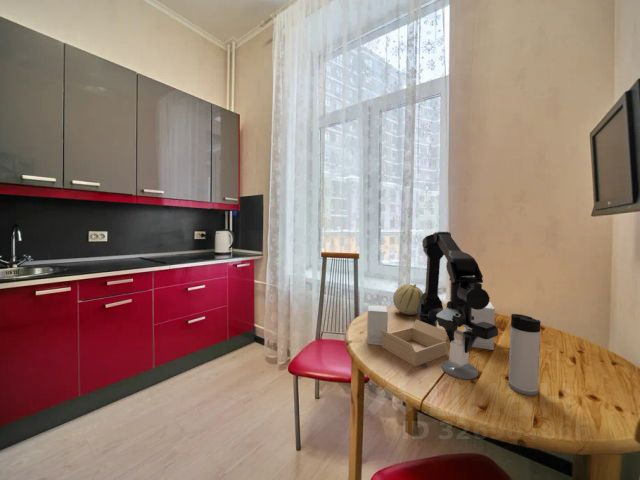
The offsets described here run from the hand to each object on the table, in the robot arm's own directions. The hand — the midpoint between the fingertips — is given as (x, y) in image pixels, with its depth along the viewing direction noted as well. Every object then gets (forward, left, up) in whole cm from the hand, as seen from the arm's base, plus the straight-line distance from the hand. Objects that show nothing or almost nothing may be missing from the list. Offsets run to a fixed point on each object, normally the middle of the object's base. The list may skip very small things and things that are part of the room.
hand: (459, 349), depth 81 cm
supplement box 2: (-23, -8, -7) cm, 25 cm away
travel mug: (-6, +14, -7) cm, 17 cm away
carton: (+3, -15, -6) cm, 17 cm away
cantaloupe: (-26, -44, -7) cm, 51 cm away
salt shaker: (0, 0, -4) cm, 4 cm away
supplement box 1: (+8, -28, -7) cm, 30 cm away
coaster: (0, 0, -6) cm, 6 cm away
